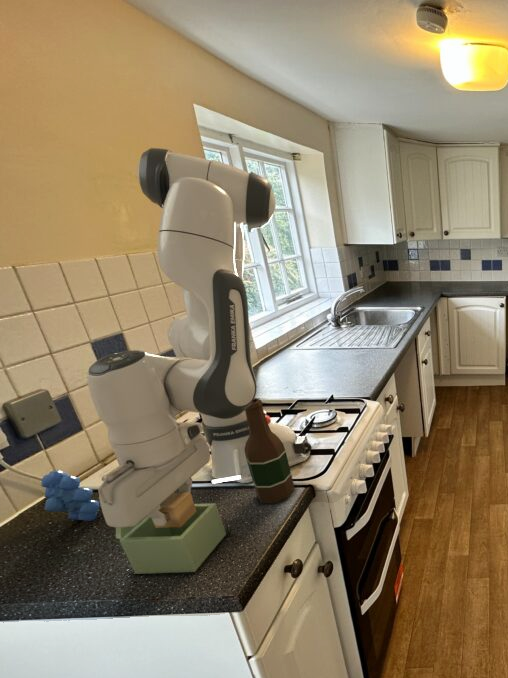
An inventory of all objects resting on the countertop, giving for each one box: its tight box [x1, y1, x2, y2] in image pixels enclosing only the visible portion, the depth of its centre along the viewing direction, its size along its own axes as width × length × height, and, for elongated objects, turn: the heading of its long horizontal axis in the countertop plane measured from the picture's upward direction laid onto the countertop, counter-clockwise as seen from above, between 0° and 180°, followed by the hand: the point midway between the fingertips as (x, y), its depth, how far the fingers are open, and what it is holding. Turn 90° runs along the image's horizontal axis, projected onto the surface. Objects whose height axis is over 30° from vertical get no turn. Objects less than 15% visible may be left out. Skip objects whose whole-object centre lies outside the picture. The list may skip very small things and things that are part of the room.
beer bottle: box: [245, 397, 295, 504], centre depth 91 cm, size 8×8×24 cm
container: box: [119, 503, 227, 575], centre depth 78 cm, size 11×10×8 cm
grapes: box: [40, 470, 100, 522], centre depth 85 cm, size 12×7×12 cm, turn 77°
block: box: [153, 491, 196, 528], centre depth 75 cm, size 4×4×4 cm
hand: (175, 511), depth 75 cm, fingers closed on block, 4 cm apart
